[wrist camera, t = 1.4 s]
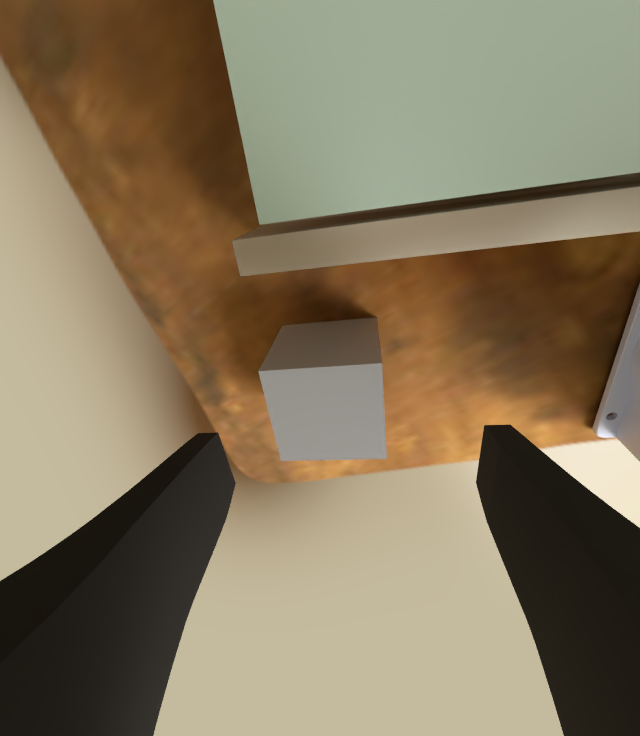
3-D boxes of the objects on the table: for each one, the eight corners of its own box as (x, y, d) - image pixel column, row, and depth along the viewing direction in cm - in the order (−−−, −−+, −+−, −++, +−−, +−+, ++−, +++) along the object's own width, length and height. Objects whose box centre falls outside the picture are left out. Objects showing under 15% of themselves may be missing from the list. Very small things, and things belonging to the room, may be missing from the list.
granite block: (381, 396, 20) (386, 458, 15) (298, 400, 20) (281, 461, 16) (376, 316, 17) (381, 363, 13) (282, 324, 18) (258, 371, 14)
